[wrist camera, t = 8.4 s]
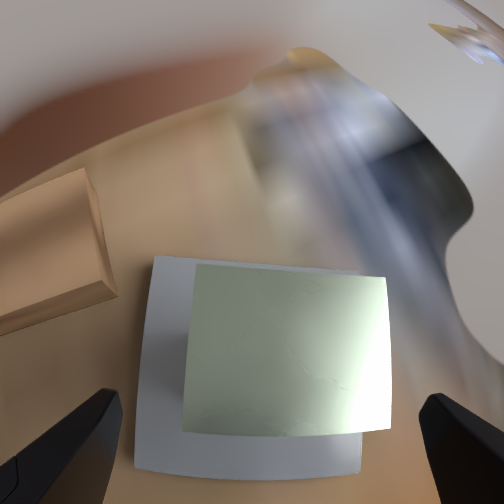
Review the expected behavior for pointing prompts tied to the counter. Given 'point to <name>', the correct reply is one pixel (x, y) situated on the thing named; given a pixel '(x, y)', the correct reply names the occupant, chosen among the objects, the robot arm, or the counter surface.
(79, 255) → the tan flat block
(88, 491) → the robot arm
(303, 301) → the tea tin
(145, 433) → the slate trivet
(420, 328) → the counter surface
